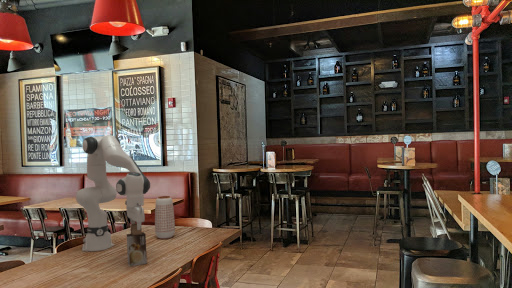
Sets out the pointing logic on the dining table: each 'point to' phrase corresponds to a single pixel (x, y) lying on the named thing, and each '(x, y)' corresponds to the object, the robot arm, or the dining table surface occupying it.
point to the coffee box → (136, 249)
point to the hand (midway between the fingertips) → (136, 228)
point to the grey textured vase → (164, 217)
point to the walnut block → (135, 230)
